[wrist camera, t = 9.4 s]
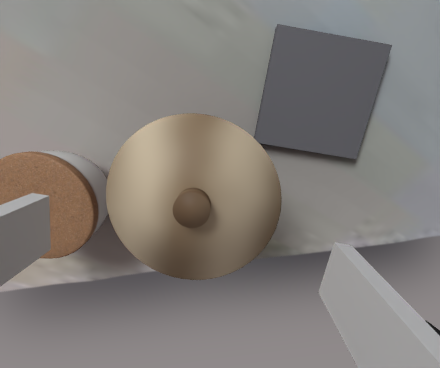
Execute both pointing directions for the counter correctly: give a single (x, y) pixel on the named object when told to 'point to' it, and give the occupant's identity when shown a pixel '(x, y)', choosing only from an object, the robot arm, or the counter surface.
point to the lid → (193, 196)
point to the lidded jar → (59, 194)
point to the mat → (319, 91)
